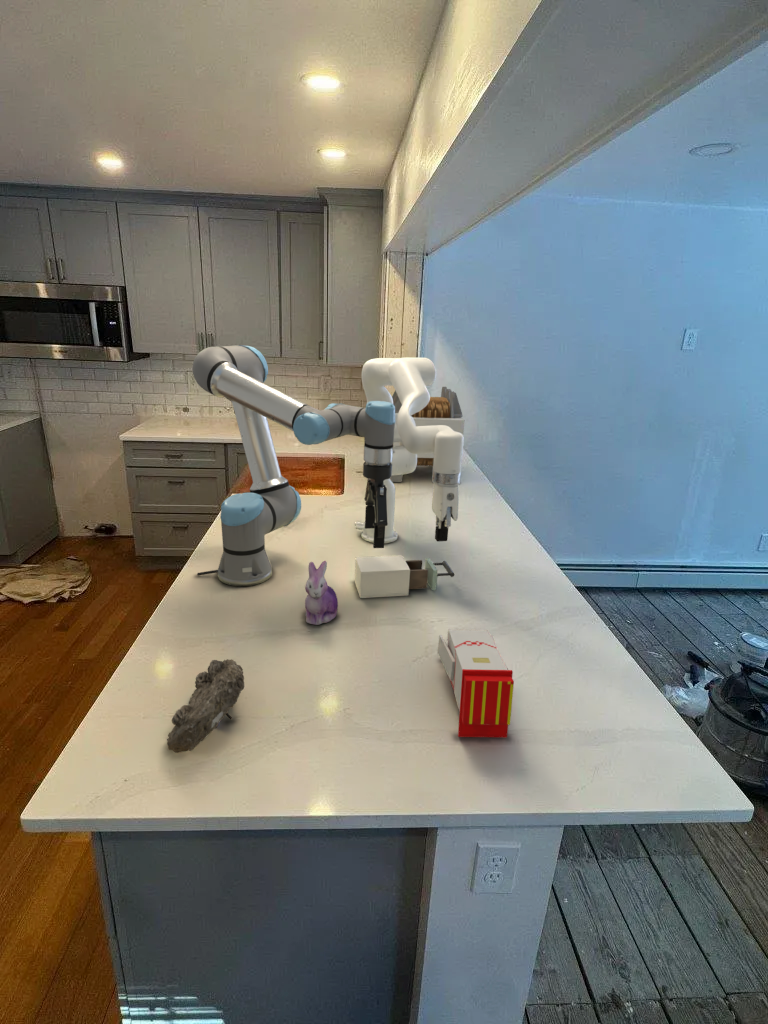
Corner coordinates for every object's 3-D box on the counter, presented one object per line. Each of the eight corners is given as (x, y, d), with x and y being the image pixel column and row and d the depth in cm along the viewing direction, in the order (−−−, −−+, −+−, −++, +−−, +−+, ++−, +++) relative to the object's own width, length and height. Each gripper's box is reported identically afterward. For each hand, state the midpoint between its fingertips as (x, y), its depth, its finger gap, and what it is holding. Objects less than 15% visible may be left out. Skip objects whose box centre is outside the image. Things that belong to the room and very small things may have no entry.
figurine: (310, 630, 138) (310, 574, 133) (296, 610, 147) (296, 557, 141) (346, 622, 142) (347, 568, 137) (330, 603, 151) (331, 552, 146)
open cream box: (400, 579, 166) (402, 555, 164) (408, 595, 157) (410, 569, 155) (354, 582, 163) (355, 557, 161) (360, 598, 155) (360, 571, 152)
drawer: (444, 575, 168) (446, 556, 166) (453, 588, 160) (455, 569, 158) (386, 578, 164) (387, 559, 162) (392, 592, 157) (393, 572, 155)
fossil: (192, 660, 117) (244, 628, 112) (224, 691, 120) (276, 661, 115) (142, 746, 98) (202, 712, 93) (182, 779, 101) (242, 748, 96)
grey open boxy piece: (382, 463, 289) (386, 382, 275) (445, 464, 293) (451, 384, 279) (390, 482, 257) (394, 392, 243) (460, 483, 261) (468, 394, 247)
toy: (488, 613, 130) (523, 677, 101) (484, 667, 133) (517, 744, 104) (435, 612, 130) (455, 676, 101) (432, 666, 133) (451, 743, 103)
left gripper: (402, 476, 137) (397, 556, 144) (382, 450, 159) (378, 520, 167) (372, 476, 135) (368, 557, 142) (356, 450, 158) (353, 521, 165)
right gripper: (468, 485, 146) (462, 550, 153) (451, 469, 160) (445, 529, 166) (440, 485, 145) (435, 551, 151) (425, 470, 159) (421, 530, 165)
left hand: (373, 537), depth 155 cm, fingers open, 13 cm apart
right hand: (441, 540), depth 159 cm, fingers closed
